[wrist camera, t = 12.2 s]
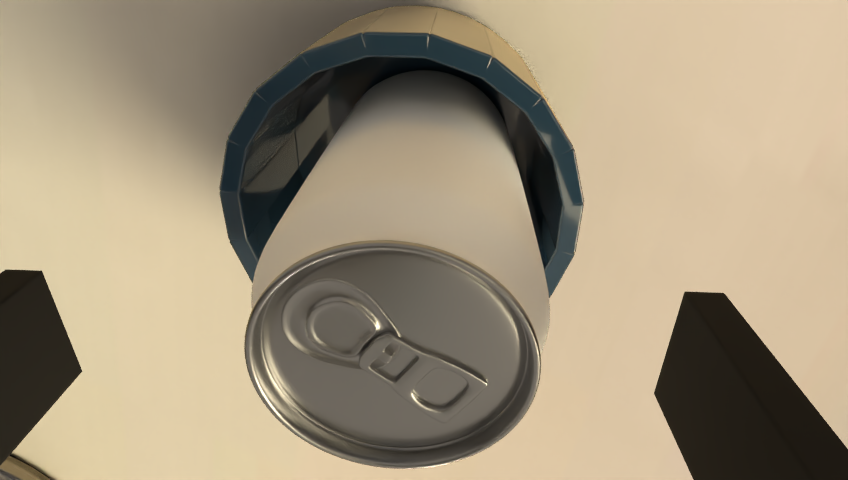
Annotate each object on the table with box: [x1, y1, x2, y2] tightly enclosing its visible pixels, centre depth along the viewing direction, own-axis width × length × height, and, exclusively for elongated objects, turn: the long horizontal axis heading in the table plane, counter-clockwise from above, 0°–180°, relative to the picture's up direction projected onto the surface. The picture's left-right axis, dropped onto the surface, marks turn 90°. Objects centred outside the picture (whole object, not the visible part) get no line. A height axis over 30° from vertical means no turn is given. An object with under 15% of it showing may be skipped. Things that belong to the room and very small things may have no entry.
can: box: [245, 70, 550, 469], centre depth 15 cm, size 6×6×12 cm
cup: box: [220, 5, 584, 298], centre depth 18 cm, size 10×10×6 cm
